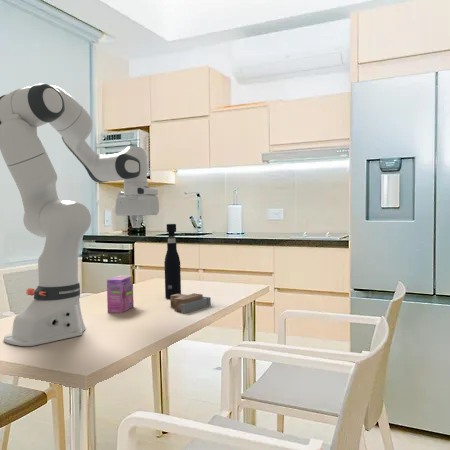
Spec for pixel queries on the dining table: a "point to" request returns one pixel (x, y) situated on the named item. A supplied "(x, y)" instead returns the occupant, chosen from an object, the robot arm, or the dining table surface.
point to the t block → (183, 300)
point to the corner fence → (195, 305)
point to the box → (120, 293)
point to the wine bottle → (172, 265)
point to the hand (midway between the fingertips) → (136, 227)
